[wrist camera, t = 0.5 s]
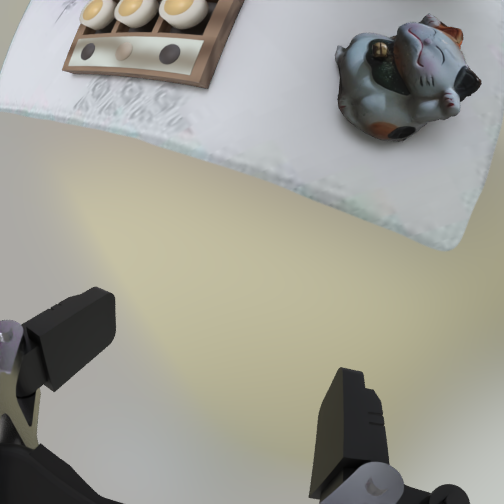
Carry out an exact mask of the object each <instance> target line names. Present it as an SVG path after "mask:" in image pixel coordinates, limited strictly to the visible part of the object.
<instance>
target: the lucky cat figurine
mask: <svg viewBox="0 0 504 504" xmlns="http://www.w3.org/2000/svg"><path fill="white" fill-rule="evenodd" d="M462 41H463V33H462V31H461V29H459V28H454V27H447V26H446V25H445V24H443V23H442V22H441V21H439V20H438V19H437V18H436V17H435V16H432V15H431V14H430V13H429V14H428V15H426V16H425V17H424V18H423V20H422V21H421V22H419V23H416V22H410V23H406V24H404V25H402V26H400V27H399V28H398V31H397V35H396V36H393V37H390V38H389V37H386V36H382V35H379V34H374V33H362V34H359V35H357V36H355V37H354V38H353V39H352V41H351V43H350V45H349V46H348V47H347V48H343V47H341V46H337V51H336V54H335V60H336V62H337V65H338V68H339V73H340V84H339V94H338V99H337V100H338V106H339V109H340V110H341V112H342V114H343V115H344V116H345V117H346V119H347V120H348V121H349V122H350V123H352V124H353V125H355V126H356V127H357V128H359V129H360V130H362V131H363V132H365V133H367V134H369V135H371V136H372V137H375V138H377V139H380V140H386V141H387V140H388V141H404V140H405V139H407V138H408V137H410V136H412V135H413V134H415V133H416V132H417V131H419V129H420V128H421V127H423V126H425V125H426V123H427V122H430V121H436V120H439V119H441V120H445V119H448V118H449V117H451V116H456V115H457V114H458V113H459V112H460V102H461V101H463V100H464V99H465V98H466V97H467V96H471V94H473V93H474V92H476V91H477V90H478V89H479V87H480V85H481V80H480V79H479V78H478V77H477V76H476V74H475V73H474V72H473V71H472V70H471V69H470V68H469V66H468V65H467V63H466V61H465V58H464V55H463V53H462V51H461V50H460V48H461V47H460V45H461V44H462Z"/></svg>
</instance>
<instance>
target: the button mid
mask: <svg viewBox="0 0 504 504" xmlns="http://www.w3.org/2000/svg"><path fill="white" fill-rule="evenodd" d="M158 8H159V4H158V1H157V0H120V2H119V3H118V4H117V6H116V8H115V12H114V15H115V18H116V19H117V20H118V21H120V22H122V23H123V24H125V25H127V26H128V27H130V28H139V27H142V26H144V25H146V24H147V23H148V22H150V21H151V20H152V19H153V18H154V16H155V15H156V13H157V11H158Z"/></svg>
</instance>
